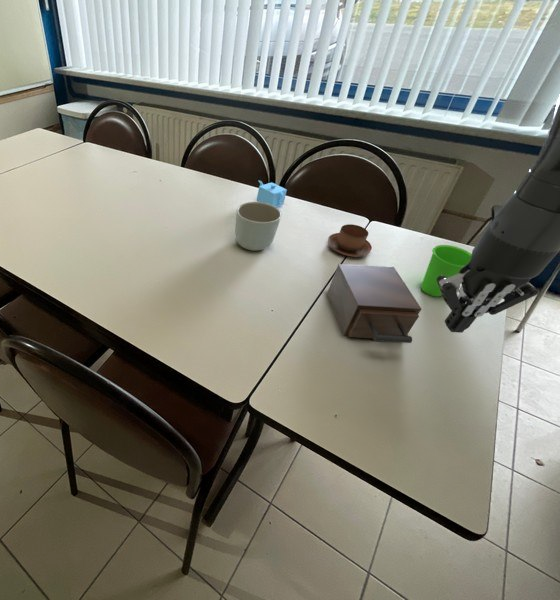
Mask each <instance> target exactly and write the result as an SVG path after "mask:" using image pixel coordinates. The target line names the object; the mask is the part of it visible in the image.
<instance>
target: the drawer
mask: <svg viewBox="0 0 560 600" xmlns="http://www.w3.org/2000/svg"><path fill="white" fill-rule="evenodd" d="M419 318H420V315H419V314H417V312H407V311H393V310H392V311H385V310H368V309H359V311H358V313H357V315H356V317H355V319H354V321H353V323H352V325H351V327H350V329H349V331H348V335H349V336H348V337H349V338H361V339H362V338H363V339H372V340H373V341H375V342H388V343H403V344H411V343H412V342H413V337H412V336H410V335H408V334H409V333H410V331H411V330H412V328H413V326H414V325H415V323H416V322H417V321H418V319H419Z"/></svg>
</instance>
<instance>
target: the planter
mask: <svg viewBox="0 0 560 600" xmlns="http://www.w3.org/2000/svg"><path fill="white" fill-rule="evenodd" d="M281 218H282V213H281V210H280V209H279V208H278V207H274V206H272V205H270V204H267V203H262V202H257V201H248V202H244V203H241V204H240V205H238V206H237V208H236V213H235V222H234V237H235V241H236V242H237V244H238V245H239V246H240V247H241V248H243V249H245V250H248V251H253V252H257V251H262V250H265V249H267V248H268V247H269V246H271V245H272V243H273V241H274V239H275V237H276V234H277V231H278V228H279V225H280V222H281Z"/></svg>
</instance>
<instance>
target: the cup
mask: <svg viewBox="0 0 560 600" xmlns="http://www.w3.org/2000/svg"><path fill="white" fill-rule="evenodd" d="M431 252H432V254H431V257H430V260H429V263H428V265H427V267H426V271H425V274H424V277H423V280H422V282H421V285H420V289H421V291H422V292H423V293H425V294H426V295H429V296H431V297H442V293H441V291H440V288H439V285H438V283H437V280H436V279H437V278H438V277H439V276H441V275H445V276H446V277H447V278H448V277H451V276H454V275H456V274H459V271H460V269H461V268H462V267H464V266H465V265H466V264H468V263H469V262H470V260H471V256H472V252H469V251H468V250H465V249H463V248H461V247H458V246H454V245H450V244H449V245H448V244H440V245H436V246H434V247H433V248H432V249H431Z"/></svg>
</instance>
